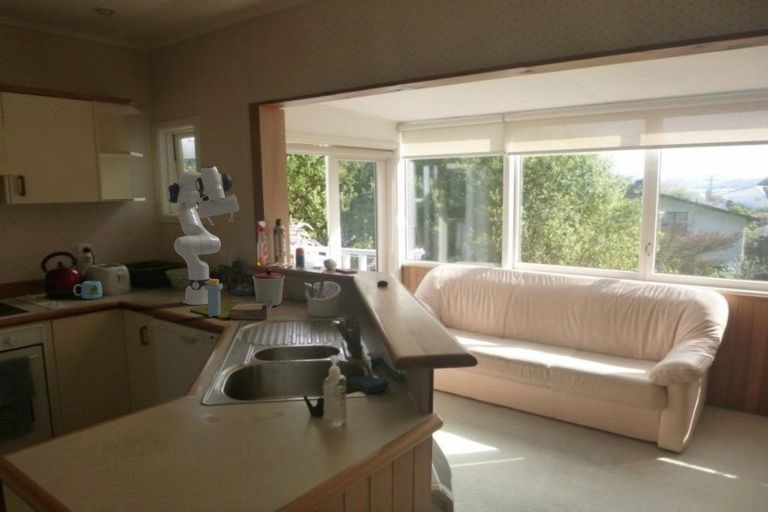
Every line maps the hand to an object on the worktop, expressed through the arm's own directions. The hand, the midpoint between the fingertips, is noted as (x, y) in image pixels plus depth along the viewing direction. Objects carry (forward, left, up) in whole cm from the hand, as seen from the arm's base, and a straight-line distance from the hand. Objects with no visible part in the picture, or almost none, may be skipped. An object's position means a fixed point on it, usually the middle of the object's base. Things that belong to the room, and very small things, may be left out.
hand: (222, 223), depth 258 cm
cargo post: (+3, -4, -47) cm, 48 cm away
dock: (+3, +15, -47) cm, 50 cm away
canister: (-24, +19, -48) cm, 56 cm away
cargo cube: (+3, -4, -33) cm, 33 cm away
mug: (-42, -91, -48) cm, 111 cm away
